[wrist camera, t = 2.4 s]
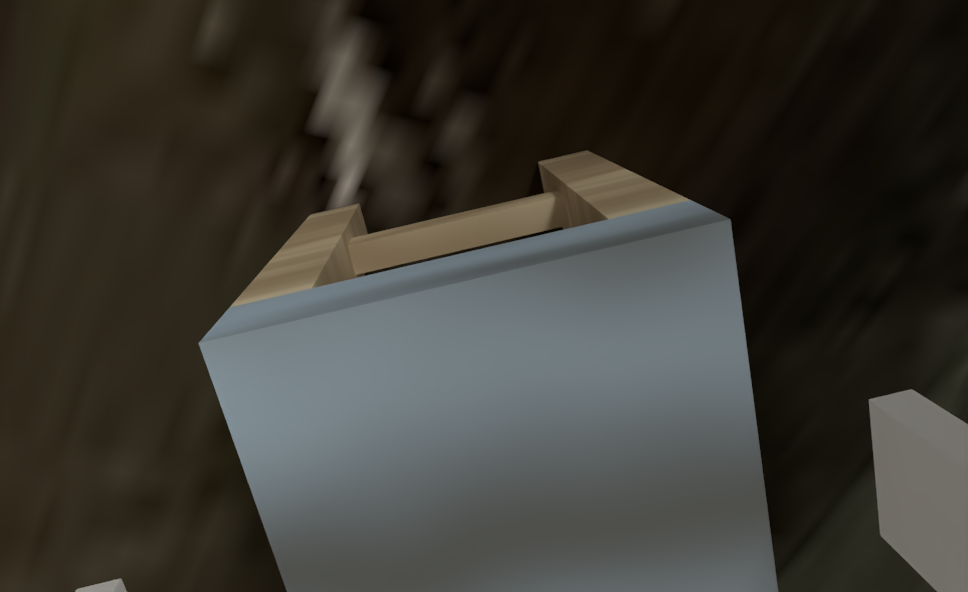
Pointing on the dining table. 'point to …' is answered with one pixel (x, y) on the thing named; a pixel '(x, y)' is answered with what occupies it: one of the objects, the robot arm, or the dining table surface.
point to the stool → (503, 398)
